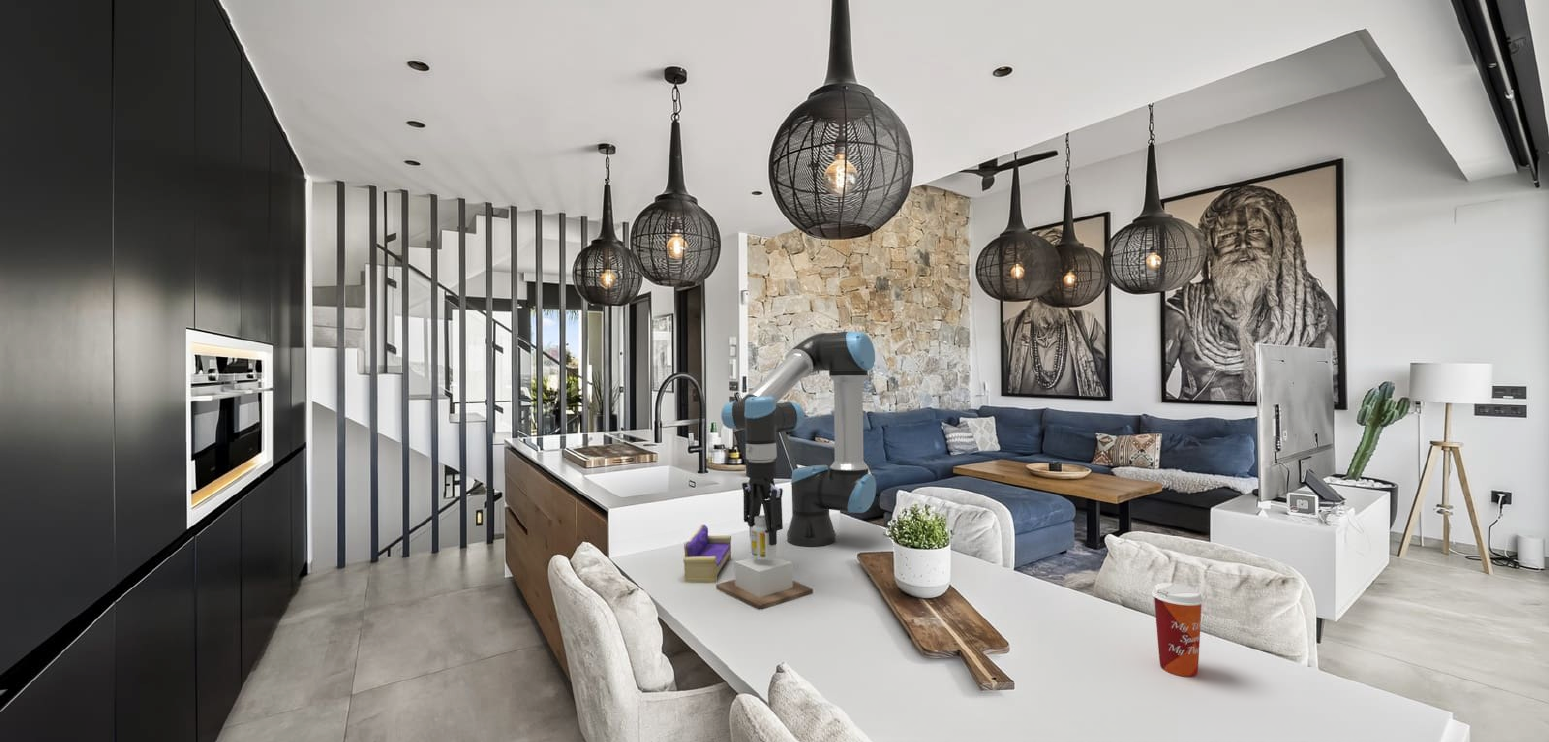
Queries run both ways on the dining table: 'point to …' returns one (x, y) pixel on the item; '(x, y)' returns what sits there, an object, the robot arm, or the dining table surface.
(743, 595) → the walnut board
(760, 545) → the supplement bottle
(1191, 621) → the paper cup
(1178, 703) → the dining table surface
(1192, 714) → the dining table surface
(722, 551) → the toy sofa
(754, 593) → the white plinth
